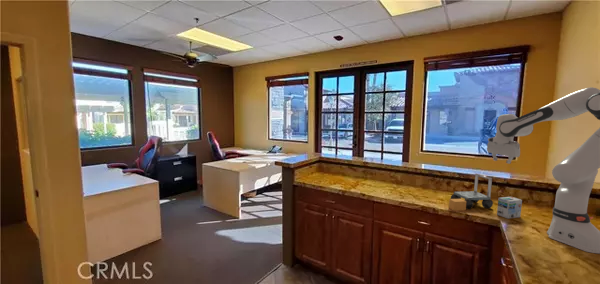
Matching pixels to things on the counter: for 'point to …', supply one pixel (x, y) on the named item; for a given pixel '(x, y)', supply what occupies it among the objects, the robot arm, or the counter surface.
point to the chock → (457, 204)
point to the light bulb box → (509, 207)
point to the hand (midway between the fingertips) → (501, 161)
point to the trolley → (476, 194)
